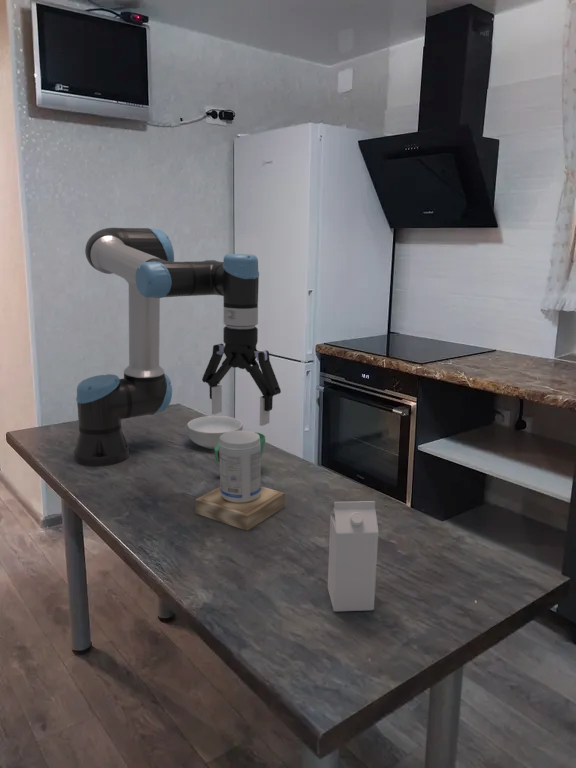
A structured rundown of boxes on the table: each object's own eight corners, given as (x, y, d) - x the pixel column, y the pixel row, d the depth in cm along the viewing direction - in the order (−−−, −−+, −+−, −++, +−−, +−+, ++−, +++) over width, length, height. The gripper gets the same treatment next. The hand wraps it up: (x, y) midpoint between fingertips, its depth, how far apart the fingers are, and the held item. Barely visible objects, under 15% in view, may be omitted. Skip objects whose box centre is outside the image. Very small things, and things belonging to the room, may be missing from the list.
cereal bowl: (177, 449, 181) (176, 427, 180) (203, 433, 197) (203, 413, 195) (228, 457, 176) (228, 434, 174) (251, 440, 191) (251, 419, 189)
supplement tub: (251, 484, 147) (251, 427, 144) (267, 499, 139) (268, 439, 136) (214, 491, 143) (213, 432, 140) (228, 507, 135) (227, 445, 132)
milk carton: (327, 589, 111) (331, 493, 106) (365, 588, 111) (370, 492, 107) (333, 612, 104) (337, 511, 99) (373, 611, 104) (379, 510, 100)
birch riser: (195, 513, 140) (195, 499, 139) (234, 491, 152) (234, 478, 151) (247, 530, 132) (247, 515, 131) (284, 506, 144) (284, 492, 144)
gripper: (186, 322, 135) (187, 412, 140) (278, 334, 122) (276, 433, 127) (207, 318, 141) (208, 405, 147) (297, 330, 128) (295, 424, 134)
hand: (240, 418), depth 137 cm, fingers open, 13 cm apart
